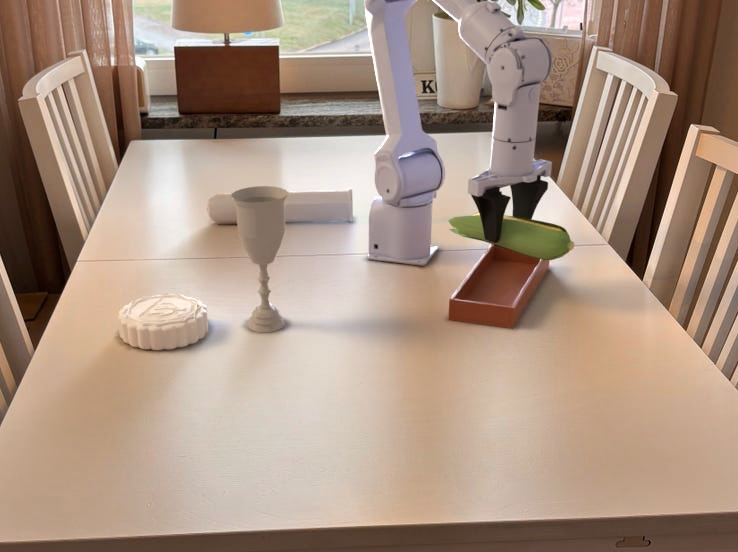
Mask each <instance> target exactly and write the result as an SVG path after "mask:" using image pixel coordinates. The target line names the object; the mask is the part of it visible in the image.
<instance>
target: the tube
mask: <svg viewBox="0 0 738 552" xmlns="http://www.w3.org/2000/svg"><path fill="white" fill-rule="evenodd" d="M287 192H288V194H287V197H286V199H285V201H284V213H285V223H311V222H349V223H353V220H354V219H353V216H354V215H353V214H354V210H353V209H354V208H353V207H354V206H353V205H354V204H353V203H354V202H353V189H352V187H349V188H347V189H329V190H328V189H327V190H293V191H289V190H287ZM232 193H233V192H223V193H222V192H221V193H220V192H219V193H214V195H212V196H211V197H210V198H209V199H208V200H207V206H206V210H207V211H206V212H207V214H208V216H209V218H210V220H211V221H212V222H213V223H214V224H217V225H235V224H237V210H236V203H235V201H234V200H233V198H232Z"/></svg>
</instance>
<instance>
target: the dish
mask: <svg viewBox="0 0 738 552" xmlns="http://www.w3.org/2000/svg"><path fill="white" fill-rule="evenodd" d="M550 261H551V260H542V259H537V258H534V257H530V256H527V255H523V254H520V253H517V252H515V251H512V250H509V249H506V248H503V247H500V246H497V245H494V244H491V243H490V245H489V246H488V248H487V249H486V250H485V252H484V253H483V255H482V256H481V257H480V258H479V260H478V261H477V262H476V264H475V265H474V266H473V268H472V269H471V270H470V272H469V273H468V274H467V275H466V277H465V279H463V280H462V283H460V285H459V286H458V288H457V289H456V290H455V292H454V293H453V294H452V295H451V297H450V298H449V303H448V318H447V319H448V320H449V321H455V322H462V323H469V324H475V325H476V324H477V325H483V326H490V327H496V328H497V327H498V328H505V329H514V327H515V326H516V324H517V322H518V321H519V318H520V317H521V315H523V312H524V310H525V309H526V307H527V306H528V304H529V302H530V300H531V299H532V297H533V296H534V294H535V292H536V291H537V289H538V287H539V285H540V284H541V283H542V280H543V278H544V277H545V275H546V274H547V272H548V270H549V269H550Z"/></svg>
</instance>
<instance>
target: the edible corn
mask: <svg viewBox="0 0 738 552" xmlns="http://www.w3.org/2000/svg"><path fill="white" fill-rule="evenodd" d="M448 223H449V224H450V226H451V227H452V228H449V231H450V232H451V233H453V234H456V235H458V236H461V237H463V238H467V239H470V240H471V239H472V240H476V241H482V242H485V243H487V244H490V245H491V244H494V245H497V246H500V247H503V248H506V249H509V250H512V251H515V252H517V253H520V254H523V255H527V256H530V257H534V258H537V259H542V260H550V261H553V260H557V259H560V258H562V257H564V256H566V255H567V254H568V253H570V251H573V249H574V247H575V241H572V240H571V237H570V234H569V232H568V231H567V229H566V228H564V227H563V226H561V225H559V224H555V223H551V222H548V221H547V222H546V221H542V220H537V219H533V218H532V219H526V218H519V217H513V215H505V214H504V217H503V221H502V229H501V235H500V239H499V242H497V243H493V242H490V241H487V240H485V237H484V231H483V226H482V221H481V217H480V214H479V212H476V213H474V214H473V215H462V216H454V217H452V218H450V219H449V220H448Z"/></svg>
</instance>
